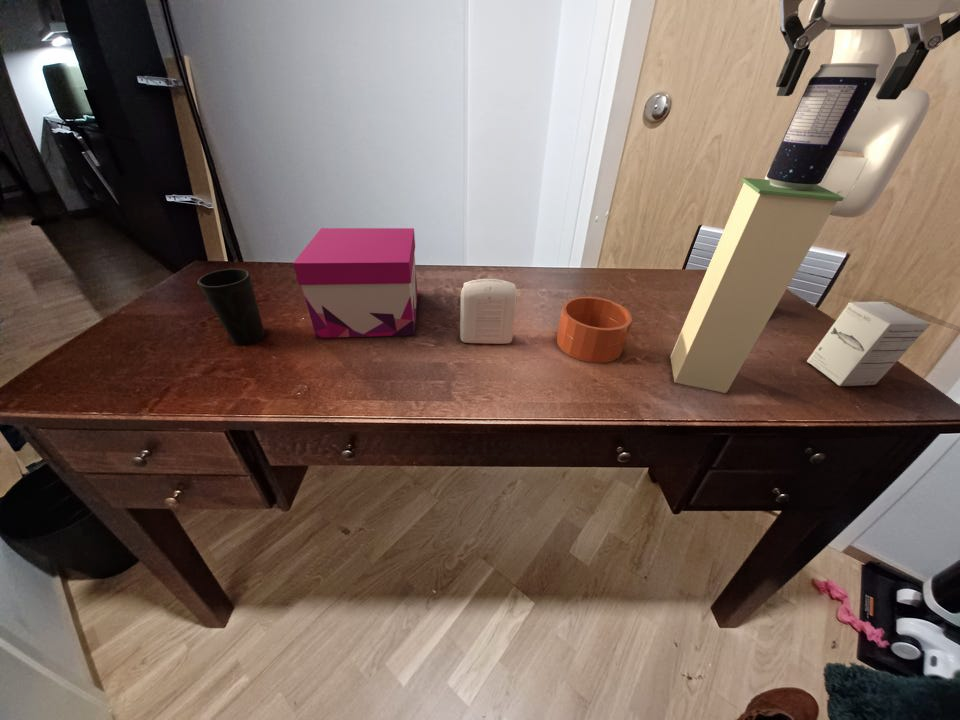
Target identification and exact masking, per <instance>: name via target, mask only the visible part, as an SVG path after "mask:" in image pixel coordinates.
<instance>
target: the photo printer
mask: <svg viewBox="0 0 960 720" xmlns="http://www.w3.org/2000/svg"><path fill="white" fill-rule="evenodd" d="M517 303H518V292H517V286H516V284H515V283H513V282H511V281H508V280H503V279H498V278H479V279H473V280H469V281H466V282H463V287H462V289H461V291H460V308H459V309H460V311H459V313H460V314H459V315H460V317H459V339H460V341H461V342H462V343H466V344H494V345H495V344H497V345H499V344H500V345H501V344H503V345H505V344H510V343H511V342H513V339H514V338H513V336H514V327H515V320H516V312H517V311H516V310H517Z"/></svg>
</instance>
